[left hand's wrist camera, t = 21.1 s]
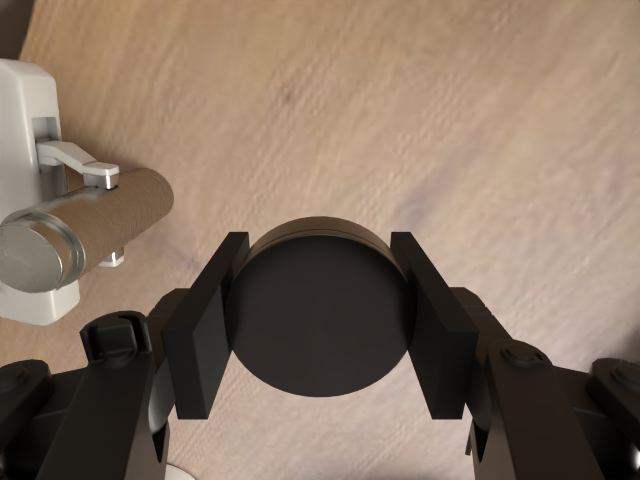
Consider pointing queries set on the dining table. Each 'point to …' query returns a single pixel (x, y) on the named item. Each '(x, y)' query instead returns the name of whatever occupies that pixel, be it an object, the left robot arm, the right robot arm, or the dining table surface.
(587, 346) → the dining table surface
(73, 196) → the brown canister
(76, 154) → the right robot arm
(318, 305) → the lid
